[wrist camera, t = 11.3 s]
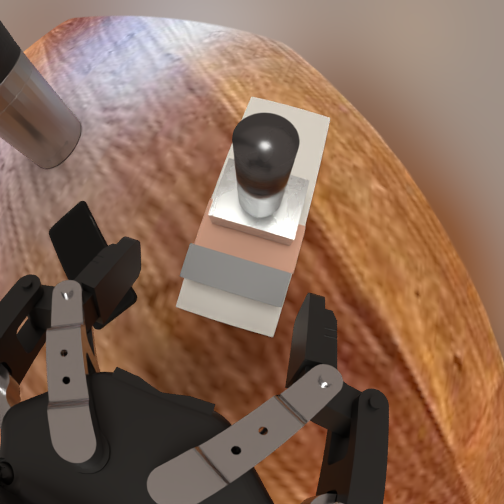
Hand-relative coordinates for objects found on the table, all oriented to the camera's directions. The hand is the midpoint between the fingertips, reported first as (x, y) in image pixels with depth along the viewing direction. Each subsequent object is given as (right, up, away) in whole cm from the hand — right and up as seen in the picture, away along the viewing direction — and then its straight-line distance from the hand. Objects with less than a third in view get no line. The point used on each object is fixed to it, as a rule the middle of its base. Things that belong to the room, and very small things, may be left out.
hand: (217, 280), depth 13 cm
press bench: (+3, +6, +19) cm, 20 cm away
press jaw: (+2, +6, +16) cm, 17 cm away
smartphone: (-18, 0, +18) cm, 25 cm away
